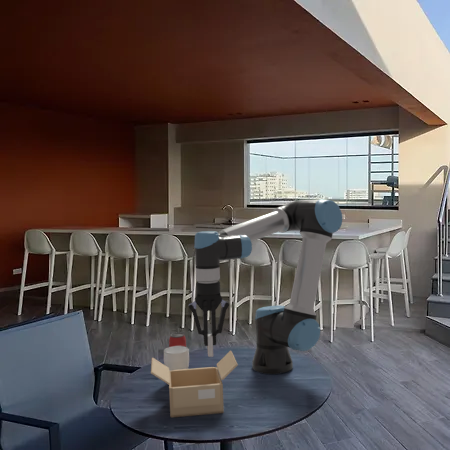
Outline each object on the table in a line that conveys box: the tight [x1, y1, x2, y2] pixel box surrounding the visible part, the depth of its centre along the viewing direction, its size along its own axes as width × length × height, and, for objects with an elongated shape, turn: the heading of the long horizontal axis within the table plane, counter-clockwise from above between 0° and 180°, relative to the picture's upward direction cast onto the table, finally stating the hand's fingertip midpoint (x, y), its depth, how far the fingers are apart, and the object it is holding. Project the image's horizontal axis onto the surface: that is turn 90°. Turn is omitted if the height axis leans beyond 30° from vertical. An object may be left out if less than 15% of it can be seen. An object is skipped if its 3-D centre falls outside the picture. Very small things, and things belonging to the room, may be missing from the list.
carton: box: [168, 366, 225, 419], centre depth 160 cm, size 16×16×9 cm
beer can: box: [168, 332, 187, 347], centre depth 198 cm, size 7×7×12 cm
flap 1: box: [150, 357, 170, 385], centre depth 158 cm, size 1×14×6 cm
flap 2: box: [216, 350, 239, 381], centre depth 160 cm, size 1×14×6 cm
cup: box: [163, 346, 190, 371], centre depth 179 cm, size 9×9×12 cm
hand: (210, 355), depth 159 cm, fingers closed
